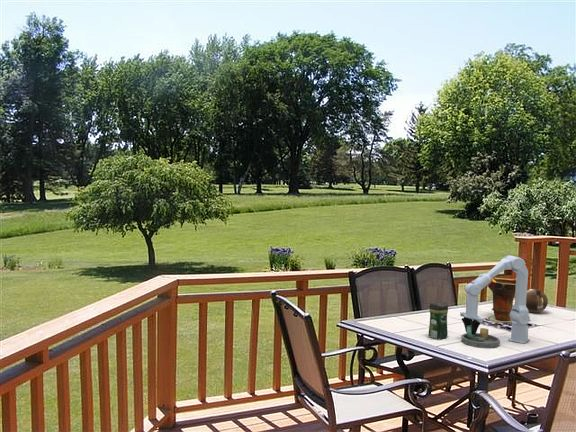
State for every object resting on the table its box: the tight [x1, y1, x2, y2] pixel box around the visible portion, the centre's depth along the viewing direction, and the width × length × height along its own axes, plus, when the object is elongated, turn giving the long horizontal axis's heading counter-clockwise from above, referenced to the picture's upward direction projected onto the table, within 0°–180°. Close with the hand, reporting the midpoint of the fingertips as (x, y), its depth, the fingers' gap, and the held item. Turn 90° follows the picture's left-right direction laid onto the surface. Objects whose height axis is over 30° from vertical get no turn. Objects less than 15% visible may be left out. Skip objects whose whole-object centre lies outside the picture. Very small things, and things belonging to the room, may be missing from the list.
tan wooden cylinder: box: [479, 327, 489, 340], centre depth 273 cm, size 4×4×5 cm
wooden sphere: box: [526, 288, 549, 314], centre depth 340 cm, size 15×15×15 cm
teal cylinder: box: [466, 325, 475, 337], centre depth 272 cm, size 4×4×5 cm
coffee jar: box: [428, 300, 449, 340], centre depth 278 cm, size 10×8×19 cm
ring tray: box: [460, 332, 501, 349], centre depth 269 cm, size 18×18×2 cm
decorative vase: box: [486, 276, 516, 324], centre depth 318 cm, size 21×23×28 cm
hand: (470, 333), depth 273 cm, fingers closed on teal cylinder, 4 cm apart
